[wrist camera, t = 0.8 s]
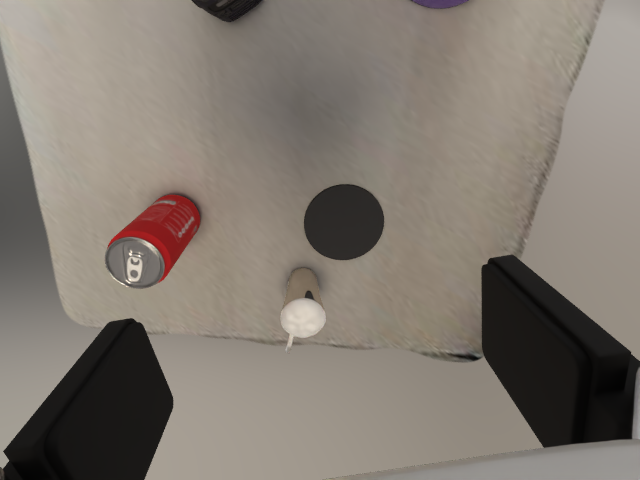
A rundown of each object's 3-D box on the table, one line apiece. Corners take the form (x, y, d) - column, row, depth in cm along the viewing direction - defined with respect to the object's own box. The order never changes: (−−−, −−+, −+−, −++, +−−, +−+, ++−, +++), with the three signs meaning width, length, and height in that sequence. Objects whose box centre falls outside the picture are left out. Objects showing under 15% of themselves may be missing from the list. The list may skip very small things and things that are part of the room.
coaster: (289, 234, 44) (289, 235, 43) (333, 168, 41) (333, 169, 40) (353, 271, 46) (353, 273, 45) (399, 211, 43) (400, 212, 43)
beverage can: (205, 198, 42) (170, 242, 30) (199, 240, 43) (163, 296, 32) (156, 186, 41) (102, 228, 30) (152, 230, 43) (100, 284, 32)
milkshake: (274, 290, 46) (266, 343, 37) (295, 256, 45) (294, 302, 36) (306, 306, 48) (307, 361, 38) (329, 273, 46) (335, 322, 37)
